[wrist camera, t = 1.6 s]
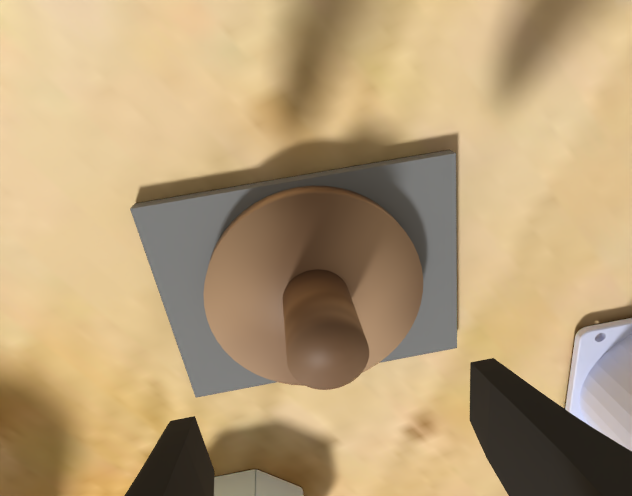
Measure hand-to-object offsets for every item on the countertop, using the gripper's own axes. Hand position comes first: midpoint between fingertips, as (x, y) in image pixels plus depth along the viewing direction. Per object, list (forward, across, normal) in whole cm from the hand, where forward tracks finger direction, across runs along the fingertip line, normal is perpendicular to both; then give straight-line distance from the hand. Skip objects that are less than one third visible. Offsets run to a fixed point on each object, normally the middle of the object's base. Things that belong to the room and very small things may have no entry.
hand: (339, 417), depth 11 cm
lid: (+7, 0, 0) cm, 7 cm away
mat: (+8, 0, 0) cm, 8 cm away
